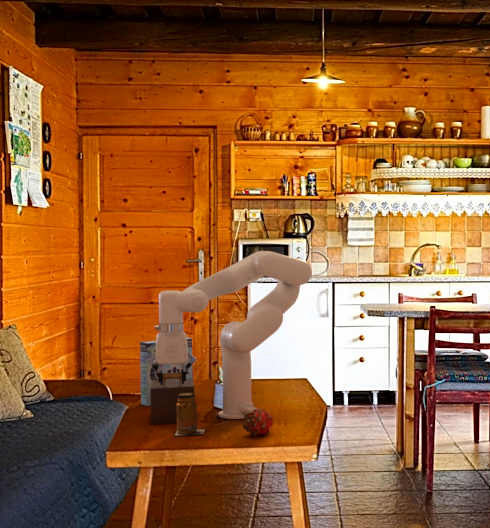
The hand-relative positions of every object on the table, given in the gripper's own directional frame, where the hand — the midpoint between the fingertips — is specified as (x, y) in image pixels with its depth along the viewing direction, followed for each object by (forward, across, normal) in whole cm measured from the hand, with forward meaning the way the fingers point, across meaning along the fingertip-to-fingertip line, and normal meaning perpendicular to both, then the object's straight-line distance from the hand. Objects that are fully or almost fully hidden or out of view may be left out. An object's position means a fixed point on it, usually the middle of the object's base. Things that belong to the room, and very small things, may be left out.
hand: (172, 383), depth 274 cm
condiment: (+13, +5, -18) cm, 22 cm away
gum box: (+13, -2, +38) cm, 40 cm away
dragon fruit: (+13, +25, -26) cm, 38 cm away
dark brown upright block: (+2, 0, +6) cm, 7 cm away
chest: (+13, 0, +7) cm, 14 cm away
